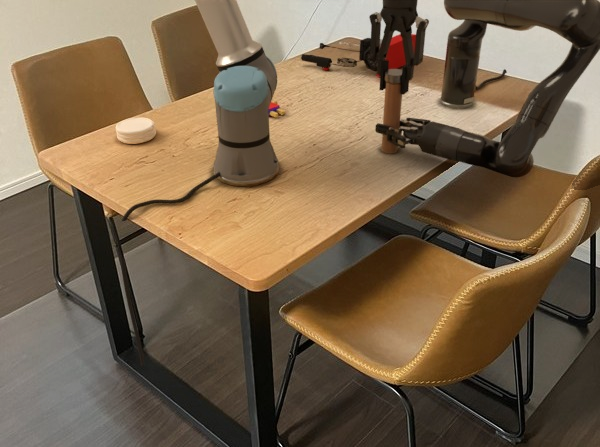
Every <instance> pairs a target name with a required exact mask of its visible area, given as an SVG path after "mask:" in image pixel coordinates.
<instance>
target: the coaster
mask: <svg viewBox="0 0 600 447" xmlns="http://www.w3.org/2000/svg"><path fill="white" fill-rule="evenodd" d="M155 124H156V123H155V122H154V120H152V119H150V118H147V117H143V116H141V117H140V116H139V117H129V118H126V119H123V120H121V121H119V122H118V123H116V125H115V128H114V129H115V134H116V138H117V140H118V141H119V142H121V143H124V144H128V145H135V144H136V145H137V144H142V143H146V142H149V141H150V140H153V138H155V137H156V135H157V131H156V126H155Z"/></svg>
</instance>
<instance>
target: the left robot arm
mask: <svg viewBox="0 0 600 447" xmlns="http://www.w3.org/2000/svg"><path fill="white" fill-rule="evenodd" d="M194 2H195V4H196V6H197V8H198V11H199V13H200V15H201V18H202V20H203V22H204V24H205V27H206V29H207V32H208V33H209V37H210V38H211V41H212V43H213V46H214V47H215V50H216V52H217V59H216V61H215V66H216V68H217V70H218V72H219V73H218V74H216V76H215V78H214V81H213V89H212V90H213V98H214V106H215V115H216V127H217V135H218V145H217V149H216V153H215V159H214V162H213V167H212V168H213V175H211V176H210V177H208V178H206V180H203V181H201V182H200V183H198V184H197V185H195V186H193V188H192V189H190V190H189V191H188V193H186V194H185V195H184V196H182V197H180V198H177V199H150V200H147V201H142V202H140V203H136V204H134V205H132V206H131V207H130V208H128V210H127V211H126V212H125V213H124V215H123V217H121V218H122V219H121V222H126V221H127V220H128V218H129V217H130V216H131V215H132V213H133V212H134V211H136V210H137V209H139V208H142V207H143V208H144V207H146V206H149V205H150V206H151V205H155V204H167V205H173V204H174V205H175V204H179V203H183V202H185V201H187V200H189V199H190V198H191V197H192V195H193V194H194V193H196V192H197V191H199V190H200V189H202V188H203V187H205V186H207V185H208V184H209V183H211V182H212V181H214V180H216V179H217V181H219V182H220V183H223V184H225V185H228V186H229V185H230V186H234V187H251V186H252V187H253V186H257V185H261V184H265V183H267V182H269V181H271V180H273V179H274V178H275V177H276V176H277V175H278V174H279V171H280V166H279V164H280V163H279V160H278V156H277V154H276V151H275V149H274V146H273V144H272V142H271V138H270V136H271V135H270V134H271V133H270V116H269V106H270V103H271V101H273V97H274V95H275V93H276V89H277V86H278V74H277V73H278V72H277V69H276V66H275V64H274V62H273V61H272V59H271V58H269V57H268V56H267V55H266V53H265V50H264V47H263V46H262V43H260V42H258V41H256V40H254V39H253V37H252V35H251V33H250V30H249V27H248V26H247V23H246V20H245V18H244V16H243V12H242V10H241V9H240V6H239V4H238V1H237V0H194ZM417 8H418V0H382V8H381V10H380V11H379V12H376V11H375V12H373V13H371V14H370V15H369V21H370V25H371V26H370V38H371V46H370V57H371V58H374V59H376V60H377V62H378V64H377V71H376V75H377V74H378V75H380V77H379V91H384V90H385V84H386V81H385V80H384V77H385V71H386V70H388V68H389V60H385V59H386V58H387V57H386V56H387V53H388V49H389V46H390V43H391V39H392V37H394V36H393V35H394V33H395V31H396V32H398V33H399V34H401V37H402V41H403V48H404V55H405V62H406V64H405V65H403V66H402V69H401V70H402V81H401V94H402V96H403V95H405V94H407V93H409V88H410V81H411V80H412V79H413V78H414V70H415V66H419V65H420V64H421V63H424V62H423V61H424V52H425V42H426V41H425V40H426V31H427V28H428V25H429V24H430V20H429V18H425V19H424V18H422V17H420V16H419V13H418V11H417V10H418V9H417ZM382 20H383V22H384V24H385V26H384V30H383V36H382V38H381V31H382V28H381V27H382ZM414 23H415V28H416V31H415V35H416V40H415V51H414V50H413V43H412V35H411V34H413V30H412V26H413V25H414ZM380 39H382V43H381V46H380ZM120 268H121V275H122V282H123V288H124V292H125V298H126V301H127V302H126V303H127V307H128V311H129V315H130V319H131V325H132V329H133V332H134V336H135V341H136V346H137V350H138V355H139V361H140V365H141V366H145V365H146V363H145V356H144V351H143V347H142V342H141V338H140V334H139V329H138V324H137V320H136V315H135V312H134V308H133V307H134V306H133V303H132V302H133V301H132V297H131V292H130V288H129V282H128V275H127V267H126V259H125V258H124V257H123V256H122V255H120Z"/></svg>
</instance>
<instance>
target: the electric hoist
mask: <svg viewBox="0 0 600 447" xmlns="http://www.w3.org/2000/svg"><path fill="white" fill-rule="evenodd" d="M411 35H412V43H413V50H414V51H415V40H416V33H415V34H414V33H412V34H411ZM382 39H383V38H380V46H381V43H382ZM338 43H339V45H344V46H346V45H347V46H349V48H350V47H358V48H359V50H355V52H359V56H358V60H356V59H354V58H348V57H342V58H341V57H338V58H337V59H336V60H337V62H336V63H337V64H336V63H333V60H332V58H331V57H326V56H325V57H324V56H318V55H315V54H307V53H306V54H305V53H302V54H301V57H300V59H301V61H302V62H306V63H312V64H316V67H318V68H322V70H323V71H329V70H330V67H331V66H333V65H334V66H338V67H343V68H355V67H357V66H358V63H359V62H363V63H364V65H365V66H366V68H367V69H369V70H371V71H373V72H377V64H378V62H377V60H376V59H374V58H371V57H370V46H371V37H365V38H363V39H361V40H360V41H359V43H355V42H351V41H350V42H346V41H339V42H338ZM325 48H333V49H338V50H345V51H348V52H353V49H347V48H341V47H335V46H331V45H327V44H325V43H323V42H320V43H319V50H320V49H321V50H323V49H325ZM386 57H387V58H386V59H385V60H389V68H388V70H389V69H399V68H401V67H403V66H405V65H406V62H405V55H404V48H403V41H402V37H401V34H400V33H399V34H397V35H395V36H392V39H391V43H390V46H389V49H388V53H387V56H386ZM375 77H376V78H380V75H378V74H377V73H376V75H375Z"/></svg>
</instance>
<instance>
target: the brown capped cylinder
mask: <svg viewBox="0 0 600 447" xmlns="http://www.w3.org/2000/svg"><path fill="white" fill-rule="evenodd" d="M384 90H385V91H384V101H383V102H384V103H383V118H382V119H383V121H382V124H383V125H387V126H390V127H396V128H399V127H400V120H401V117H402V116H401V114H402V103H403V102H402V101H403V100H402V99H403V95H402V94H401V83H389V82H386V84H385V89H384ZM394 132H396V133H398V132H397V131H394ZM381 151H382V152H383V153H385V154H395V153H397V152H398V151H399V147H398V146H396V145H394V144H392V143H390V142H388V141H387V135H384V134H381Z"/></svg>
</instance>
